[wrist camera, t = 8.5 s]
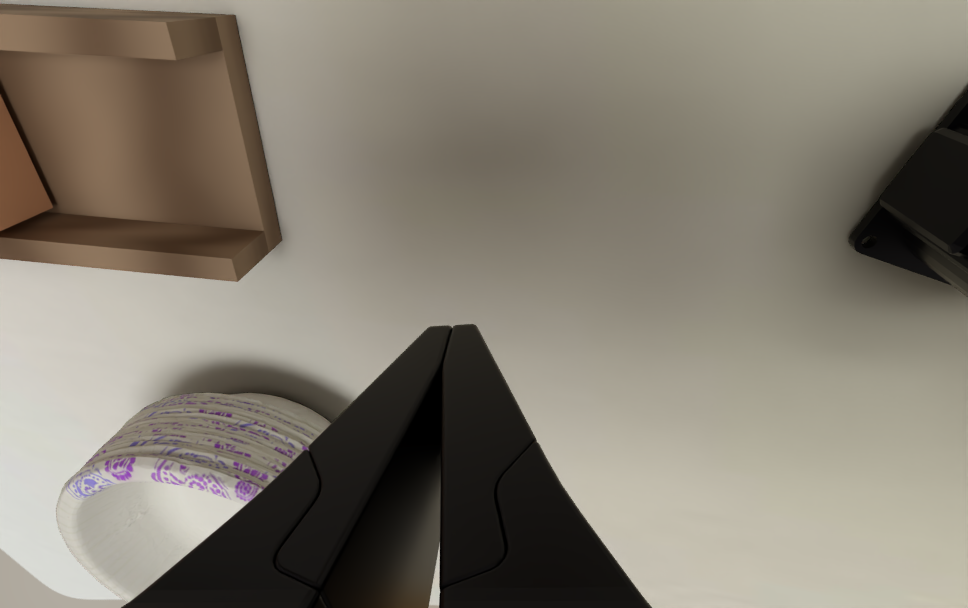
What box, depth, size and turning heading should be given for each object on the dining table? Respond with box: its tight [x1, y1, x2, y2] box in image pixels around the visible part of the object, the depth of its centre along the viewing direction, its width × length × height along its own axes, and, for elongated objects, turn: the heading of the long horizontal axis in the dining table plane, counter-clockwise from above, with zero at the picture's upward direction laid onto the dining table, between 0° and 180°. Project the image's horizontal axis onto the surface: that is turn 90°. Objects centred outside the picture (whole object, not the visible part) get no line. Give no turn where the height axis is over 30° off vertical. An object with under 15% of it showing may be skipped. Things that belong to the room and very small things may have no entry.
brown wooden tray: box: [0, 4, 282, 282], centre depth 19 cm, size 18×9×4 cm, turn 88°
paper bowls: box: [56, 392, 331, 603], centre depth 27 cm, size 15×15×8 cm
